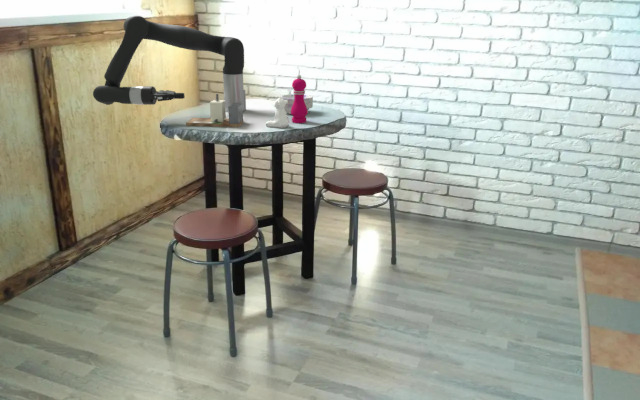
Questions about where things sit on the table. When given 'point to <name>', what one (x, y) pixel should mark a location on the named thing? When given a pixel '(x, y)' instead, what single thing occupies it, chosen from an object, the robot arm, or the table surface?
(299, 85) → the pepper mill
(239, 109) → the grey rectangular block
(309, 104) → the paper bowls
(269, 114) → the table surface
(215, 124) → the brown wooden board
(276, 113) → the white creature statuette
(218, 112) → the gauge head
